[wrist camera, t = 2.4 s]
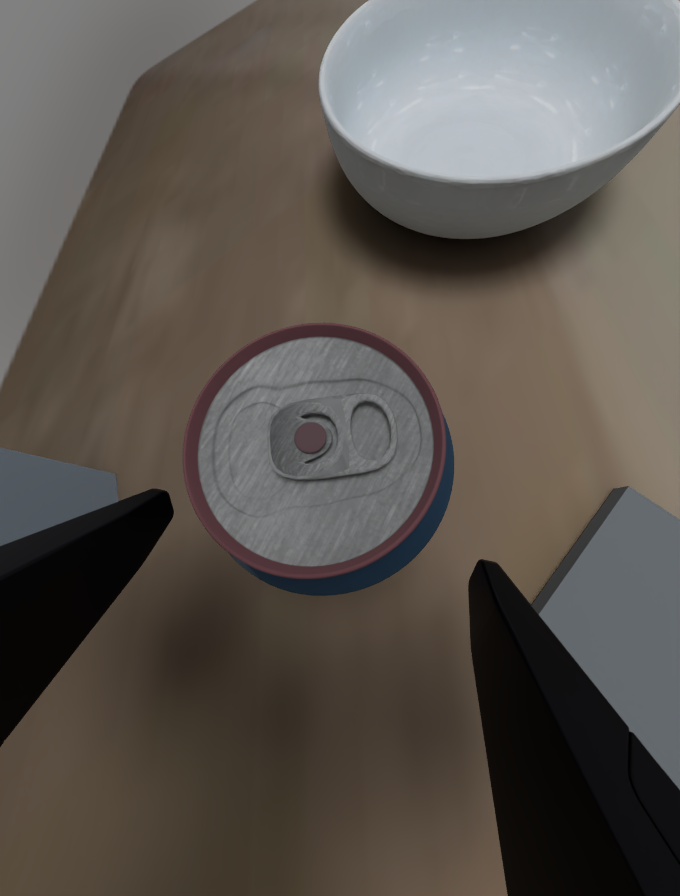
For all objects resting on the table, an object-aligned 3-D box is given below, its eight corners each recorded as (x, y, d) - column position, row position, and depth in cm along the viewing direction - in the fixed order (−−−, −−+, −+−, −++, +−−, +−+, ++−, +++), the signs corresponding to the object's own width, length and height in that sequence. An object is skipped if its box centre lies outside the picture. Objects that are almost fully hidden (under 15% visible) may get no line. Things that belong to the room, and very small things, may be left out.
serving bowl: (319, 123, 28) (303, -6, 21) (554, 73, 26) (615, -81, 20) (347, 308, 22) (337, 209, 15) (651, 255, 20) (786, 123, 14)
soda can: (296, 565, 17) (142, 633, 6) (288, 450, 19) (163, 325, 8) (417, 552, 17) (522, 596, 5) (397, 435, 19) (439, 278, 7)
